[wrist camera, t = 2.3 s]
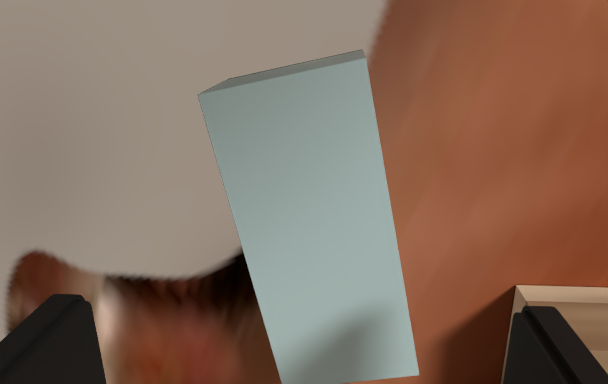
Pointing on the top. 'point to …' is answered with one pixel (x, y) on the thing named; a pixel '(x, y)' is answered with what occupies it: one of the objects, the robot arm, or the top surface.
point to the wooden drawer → (571, 313)
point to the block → (315, 218)
